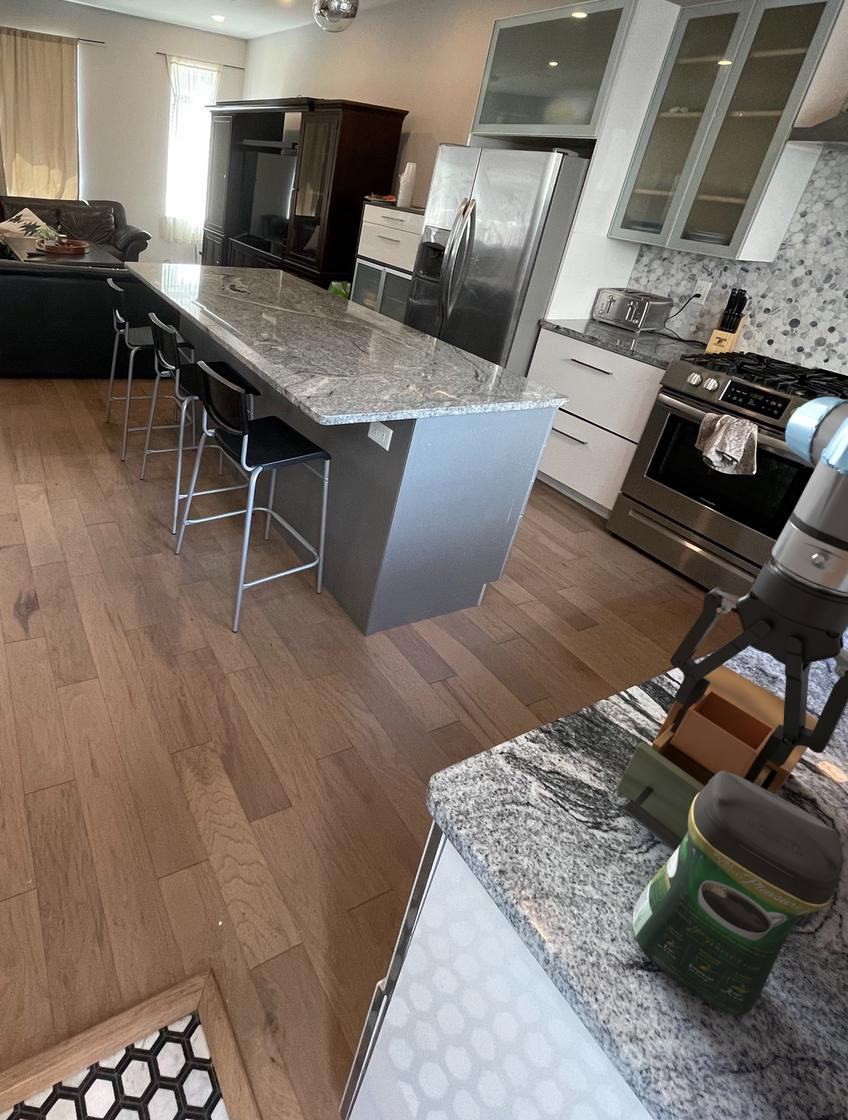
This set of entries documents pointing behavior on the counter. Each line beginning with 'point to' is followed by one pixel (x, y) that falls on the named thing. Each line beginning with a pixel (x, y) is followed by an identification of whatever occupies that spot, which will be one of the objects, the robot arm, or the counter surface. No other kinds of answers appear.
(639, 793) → the drawer
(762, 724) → the brown open box
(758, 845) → the coffee jar
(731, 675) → the cabinet
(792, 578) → the robot arm
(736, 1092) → the counter surface
